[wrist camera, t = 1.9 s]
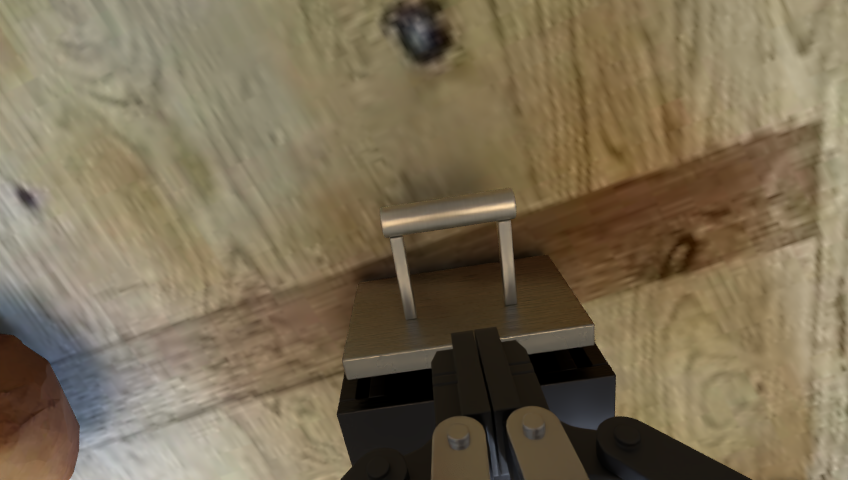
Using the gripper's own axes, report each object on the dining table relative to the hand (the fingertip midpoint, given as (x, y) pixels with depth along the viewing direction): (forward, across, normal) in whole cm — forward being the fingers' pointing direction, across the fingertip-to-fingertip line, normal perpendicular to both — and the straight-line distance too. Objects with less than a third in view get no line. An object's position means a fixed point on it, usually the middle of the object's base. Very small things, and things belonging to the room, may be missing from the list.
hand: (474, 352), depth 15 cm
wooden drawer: (+12, 0, +7) cm, 14 cm away
